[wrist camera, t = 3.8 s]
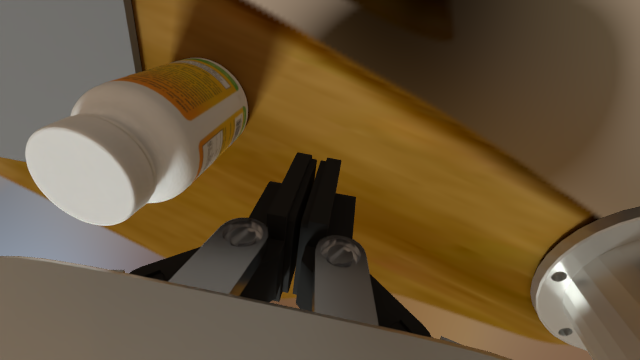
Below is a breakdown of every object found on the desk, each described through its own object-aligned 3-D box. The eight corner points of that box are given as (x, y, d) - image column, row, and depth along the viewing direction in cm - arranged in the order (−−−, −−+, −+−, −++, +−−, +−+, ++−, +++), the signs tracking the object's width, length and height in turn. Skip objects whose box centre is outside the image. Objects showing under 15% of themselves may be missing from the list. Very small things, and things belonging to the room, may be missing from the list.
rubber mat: (125, -34, 16) (117, -35, 16) (159, 182, 23) (154, 186, 22) (-83, -63, 17) (-97, -65, 17) (8, 153, 24) (-1, 156, 23)
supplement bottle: (150, 67, 19) (-33, 120, 10) (231, 46, 17) (97, 87, 9) (188, 150, 21) (65, 247, 13) (261, 136, 20) (178, 235, 11)
